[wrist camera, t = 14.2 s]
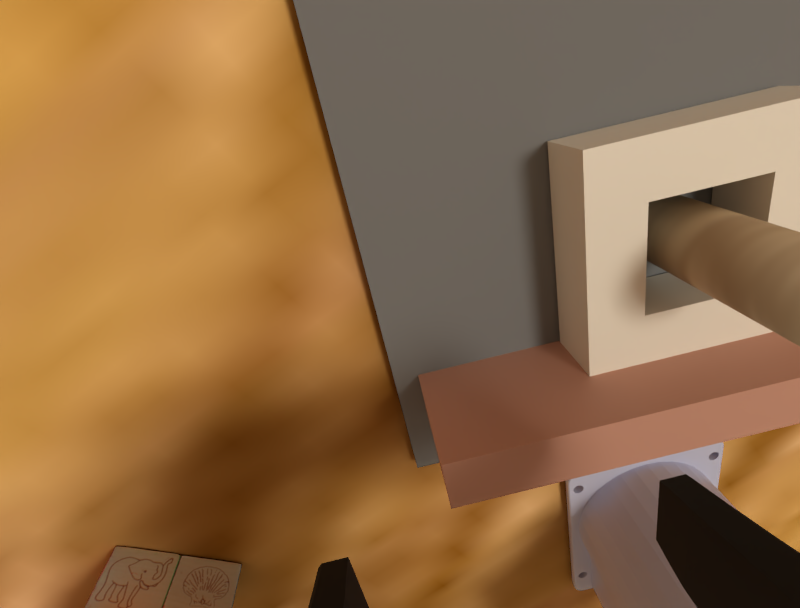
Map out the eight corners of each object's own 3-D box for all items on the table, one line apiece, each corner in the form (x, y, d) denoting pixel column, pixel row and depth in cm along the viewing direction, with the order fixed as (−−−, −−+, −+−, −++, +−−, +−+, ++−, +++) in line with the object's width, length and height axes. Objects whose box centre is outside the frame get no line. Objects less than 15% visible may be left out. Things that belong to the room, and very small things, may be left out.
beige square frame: (747, 296, 19) (803, 324, 16) (560, 342, 19) (589, 376, 16) (778, 85, 15) (854, 85, 13) (547, 141, 15) (582, 150, 13)
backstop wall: (873, 303, 20) (1029, 366, 15) (426, 412, 20) (451, 508, 15) (885, 261, 19) (1054, 315, 14) (417, 375, 19) (441, 465, 14)
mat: (864, 348, 22) (878, 355, 21) (415, 458, 21) (417, 467, 21) (1102, -470, 11) (1141, -499, 11) (223, -267, 11) (217, -286, 10)
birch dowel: (687, 248, 18) (877, 336, 11) (624, 263, 18) (780, 360, 11) (691, 184, 16) (905, 242, 10) (624, 200, 16) (797, 269, 10)
